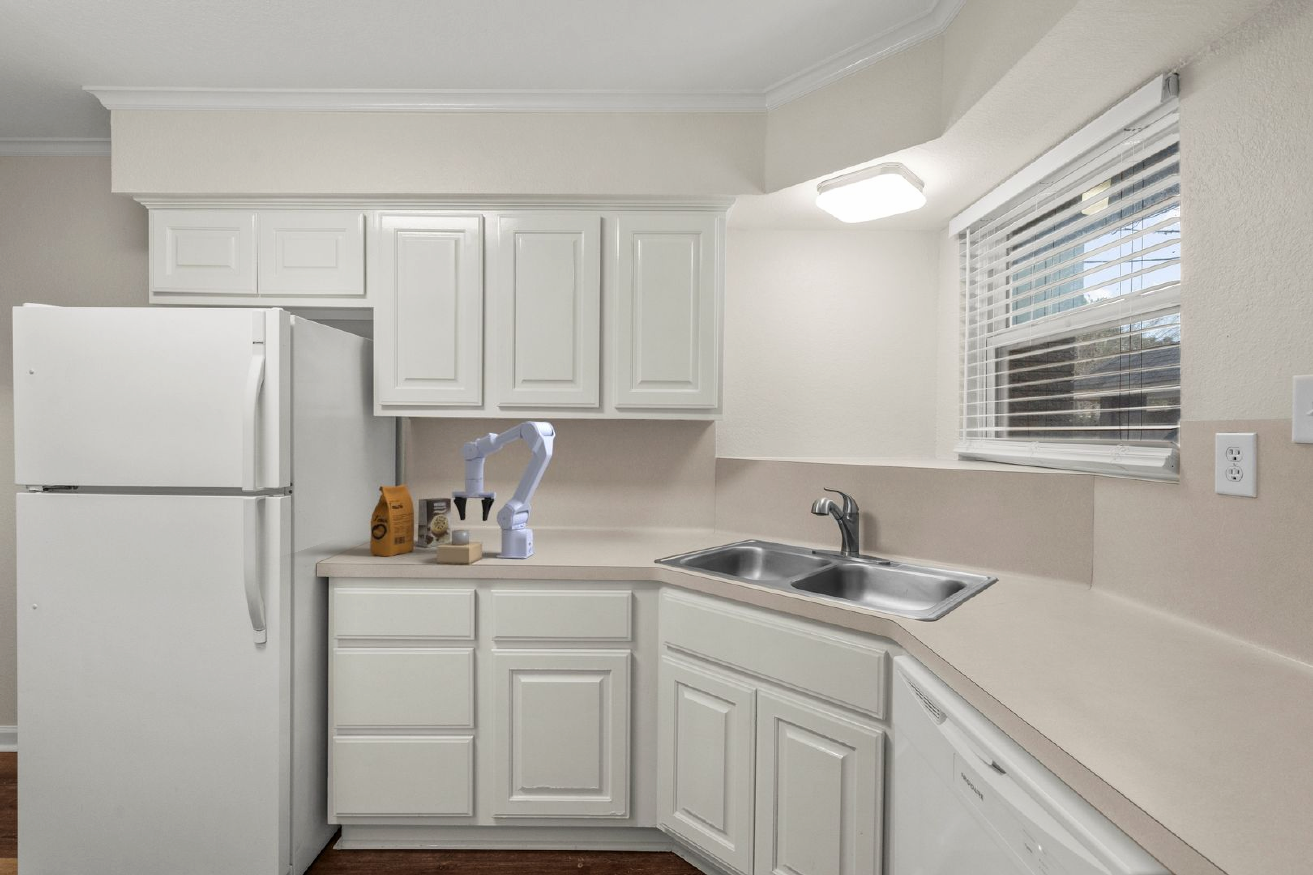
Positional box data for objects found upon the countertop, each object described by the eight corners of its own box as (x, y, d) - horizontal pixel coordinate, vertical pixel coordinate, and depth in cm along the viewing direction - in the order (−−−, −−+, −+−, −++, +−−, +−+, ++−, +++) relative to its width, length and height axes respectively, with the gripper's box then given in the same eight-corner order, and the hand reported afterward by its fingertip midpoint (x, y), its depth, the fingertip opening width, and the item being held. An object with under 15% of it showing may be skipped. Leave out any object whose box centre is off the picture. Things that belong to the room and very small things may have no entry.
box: (481, 558, 187) (482, 544, 187) (469, 564, 178) (469, 549, 178) (451, 557, 188) (451, 543, 188) (437, 563, 179) (437, 548, 179)
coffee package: (364, 555, 190) (365, 486, 190) (395, 548, 202) (395, 483, 202) (388, 557, 187) (389, 487, 187) (418, 551, 198) (418, 484, 198)
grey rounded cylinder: (470, 542, 186) (470, 529, 186) (467, 545, 181) (467, 532, 181) (453, 542, 185) (453, 529, 185) (450, 545, 180) (450, 532, 180)
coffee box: (427, 547, 204) (428, 500, 204) (417, 545, 208) (417, 499, 208) (451, 544, 211) (451, 498, 211) (440, 542, 215) (441, 497, 215)
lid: (482, 543, 187) (482, 542, 187) (469, 549, 178) (469, 547, 177) (451, 542, 188) (451, 541, 188) (436, 548, 179) (436, 546, 179)
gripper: (447, 479, 194) (447, 521, 194) (490, 480, 192) (490, 522, 192) (457, 477, 201) (457, 518, 201) (499, 478, 199) (498, 519, 199)
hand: (473, 520), depth 197 cm, fingers open, 7 cm apart
